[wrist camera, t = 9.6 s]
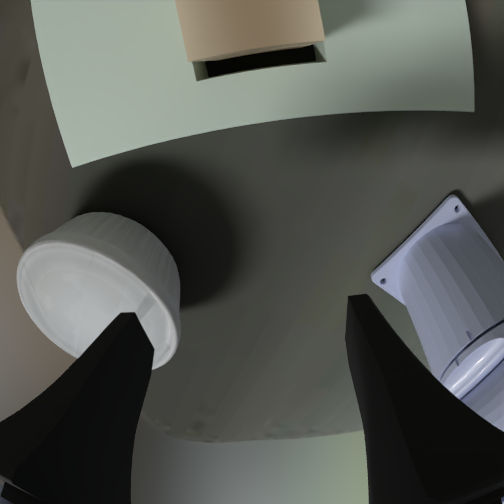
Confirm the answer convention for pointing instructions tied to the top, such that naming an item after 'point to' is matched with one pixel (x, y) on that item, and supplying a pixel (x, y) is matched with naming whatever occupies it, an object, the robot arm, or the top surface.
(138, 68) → the socket block
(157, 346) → the ramekin
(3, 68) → the top surface
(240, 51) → the peg
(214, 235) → the top surface
